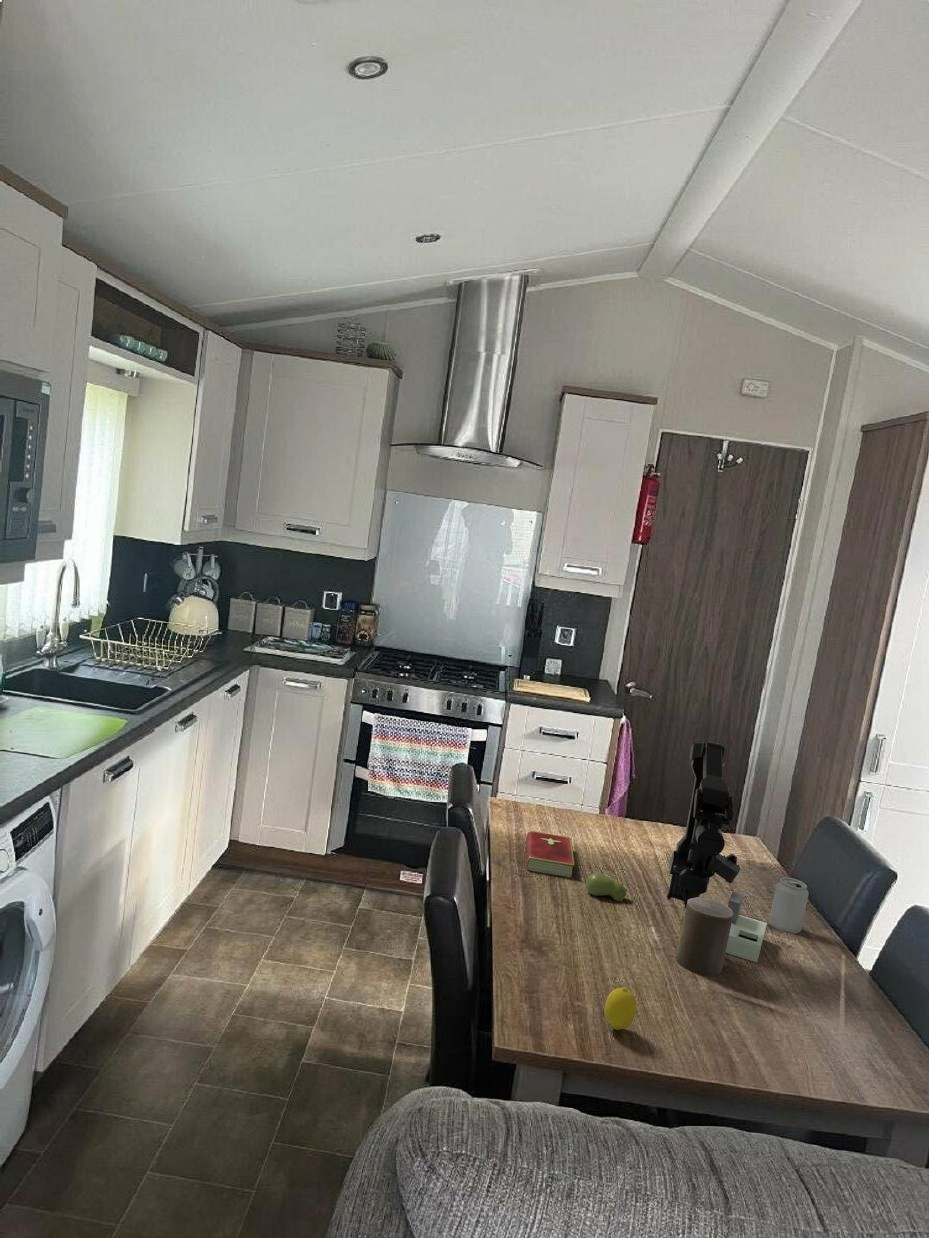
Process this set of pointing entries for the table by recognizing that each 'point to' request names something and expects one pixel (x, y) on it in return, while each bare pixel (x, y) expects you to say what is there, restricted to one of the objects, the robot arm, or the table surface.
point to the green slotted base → (744, 925)
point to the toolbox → (743, 949)
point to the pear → (605, 887)
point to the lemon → (620, 1008)
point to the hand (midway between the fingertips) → (692, 906)
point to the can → (789, 905)
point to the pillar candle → (704, 936)
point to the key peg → (683, 918)
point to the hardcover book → (549, 854)
